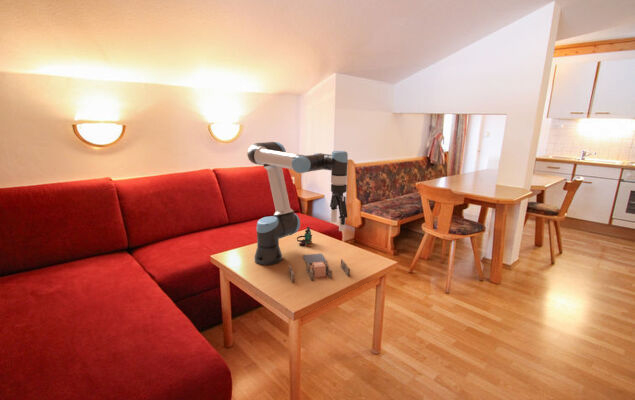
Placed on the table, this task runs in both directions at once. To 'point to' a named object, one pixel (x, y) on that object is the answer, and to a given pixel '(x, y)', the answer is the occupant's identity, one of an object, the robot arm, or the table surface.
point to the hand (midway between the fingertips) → (337, 226)
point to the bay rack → (328, 270)
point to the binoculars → (306, 238)
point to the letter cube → (318, 269)
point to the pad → (314, 258)
